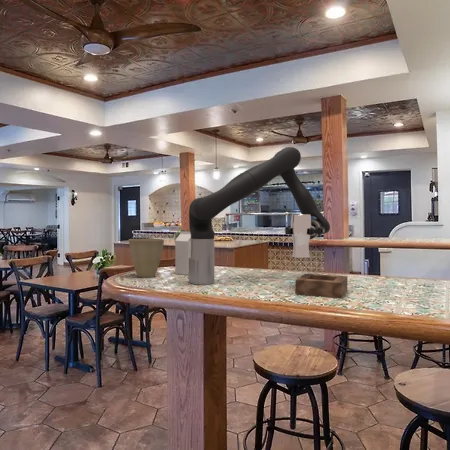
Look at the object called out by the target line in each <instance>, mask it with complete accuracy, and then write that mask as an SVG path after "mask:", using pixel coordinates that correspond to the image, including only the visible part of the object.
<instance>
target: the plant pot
mask: <svg viewBox="0 0 450 450" xmlns="http://www.w3.org/2000/svg"><path fill="white" fill-rule="evenodd" d="M128 243H129V251H130V255H131V260H132V264H133V267H134V271H135V273H136V276H137V277H138V278H141V279H142V278H146V279H147V278H154V277H156V274H157V272H158V269H159V265H160V262H161V260H162V259H161V258H162V255H163V252H164V251H163V250H164V243H165V239H163V238H130V239H128Z"/></svg>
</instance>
